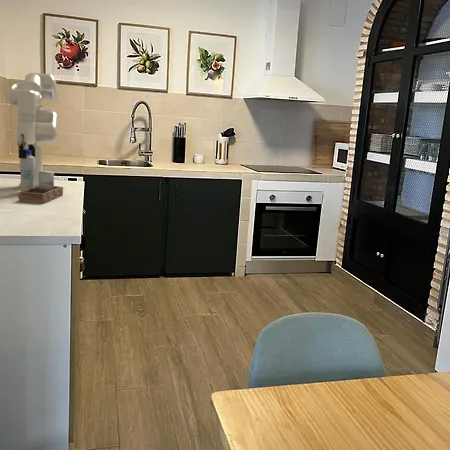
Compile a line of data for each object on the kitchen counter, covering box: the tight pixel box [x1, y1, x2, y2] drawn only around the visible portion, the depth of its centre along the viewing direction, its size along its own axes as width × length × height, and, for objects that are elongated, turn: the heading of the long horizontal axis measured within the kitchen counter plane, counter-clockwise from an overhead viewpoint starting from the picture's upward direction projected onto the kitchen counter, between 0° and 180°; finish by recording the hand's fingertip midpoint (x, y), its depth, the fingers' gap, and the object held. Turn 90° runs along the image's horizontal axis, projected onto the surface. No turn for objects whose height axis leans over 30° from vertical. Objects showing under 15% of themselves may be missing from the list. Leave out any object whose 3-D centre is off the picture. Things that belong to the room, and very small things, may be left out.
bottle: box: [19, 150, 35, 192], centre depth 228 cm, size 7×7×20 cm
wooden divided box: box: [18, 170, 64, 204], centre depth 220 cm, size 22×11×11 cm, turn 178°
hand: (27, 157), depth 226 cm, fingers open, 9 cm apart
